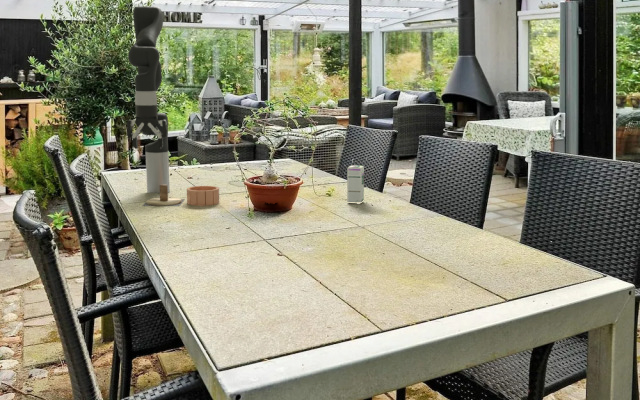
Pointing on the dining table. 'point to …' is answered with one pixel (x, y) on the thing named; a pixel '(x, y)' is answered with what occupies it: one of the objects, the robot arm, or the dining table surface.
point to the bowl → (203, 195)
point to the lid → (163, 198)
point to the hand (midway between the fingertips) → (148, 148)
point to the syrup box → (355, 183)
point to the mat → (168, 205)
